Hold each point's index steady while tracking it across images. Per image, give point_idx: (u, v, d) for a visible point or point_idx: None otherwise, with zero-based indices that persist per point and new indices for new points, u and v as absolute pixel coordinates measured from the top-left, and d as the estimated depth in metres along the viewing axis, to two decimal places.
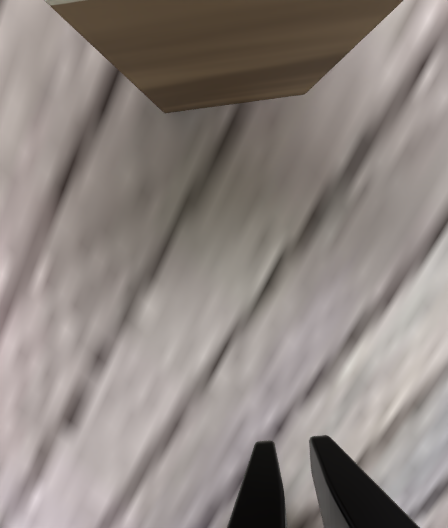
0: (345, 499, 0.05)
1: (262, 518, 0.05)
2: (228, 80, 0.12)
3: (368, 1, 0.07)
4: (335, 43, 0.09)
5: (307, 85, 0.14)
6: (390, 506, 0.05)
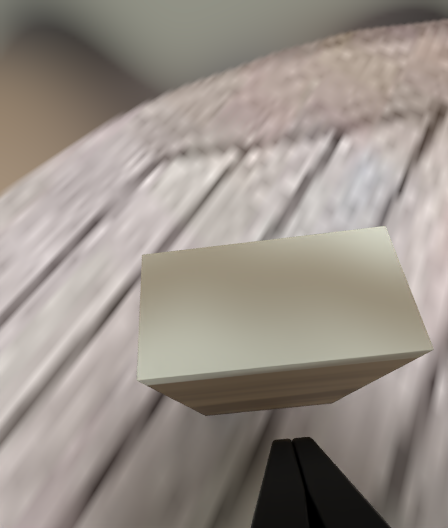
0: (322, 501, 0.05)
1: (286, 515, 0.05)
2: (263, 401, 0.14)
3: (366, 373, 0.10)
4: (348, 385, 0.12)
5: (332, 399, 0.16)
6: (365, 508, 0.05)
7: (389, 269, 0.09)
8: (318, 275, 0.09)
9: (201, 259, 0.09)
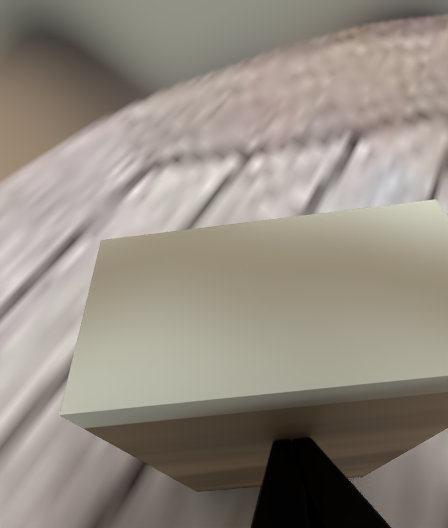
0: (322, 501, 0.05)
1: (286, 516, 0.05)
2: None
3: (427, 418, 0.06)
4: (394, 444, 0.08)
5: (365, 471, 0.12)
6: (365, 508, 0.05)
7: None
8: (348, 259, 0.06)
9: (180, 244, 0.07)
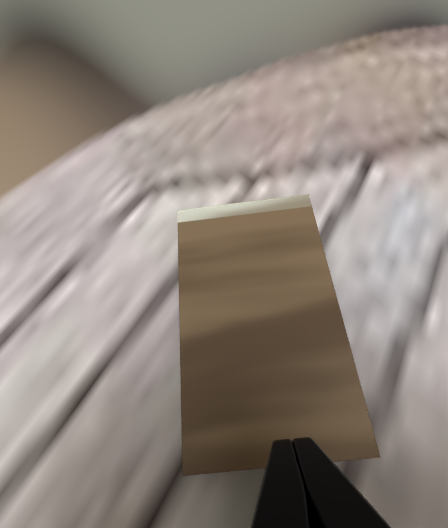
0: (322, 501, 0.05)
1: (286, 516, 0.05)
2: (254, 339, 0.14)
3: (301, 234, 0.16)
4: (314, 279, 0.15)
5: (355, 398, 0.12)
6: (366, 508, 0.05)
7: None
8: None
9: None
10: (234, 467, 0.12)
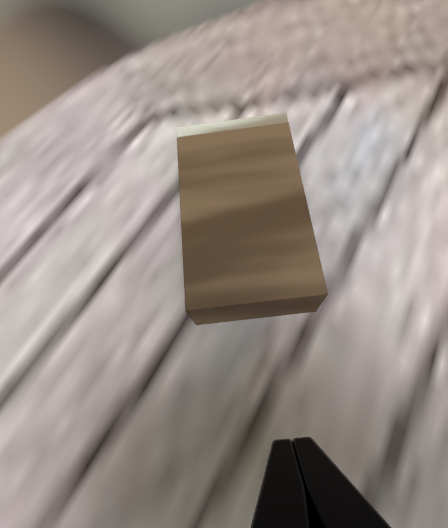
0: (322, 501, 0.05)
1: (286, 516, 0.05)
2: (238, 222, 0.18)
3: (278, 144, 0.20)
4: (287, 178, 0.19)
5: (312, 258, 0.17)
6: (366, 508, 0.05)
7: None
8: None
9: None
10: (223, 304, 0.16)
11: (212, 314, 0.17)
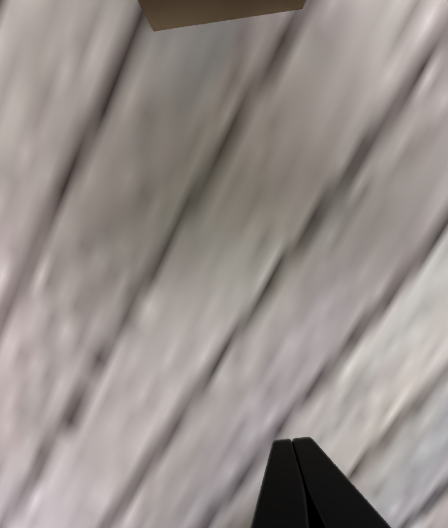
0: (322, 501, 0.05)
1: (286, 516, 0.05)
2: None
3: None
4: None
5: None
6: (366, 508, 0.05)
7: None
8: None
9: None
10: None
11: (171, 7, 0.14)
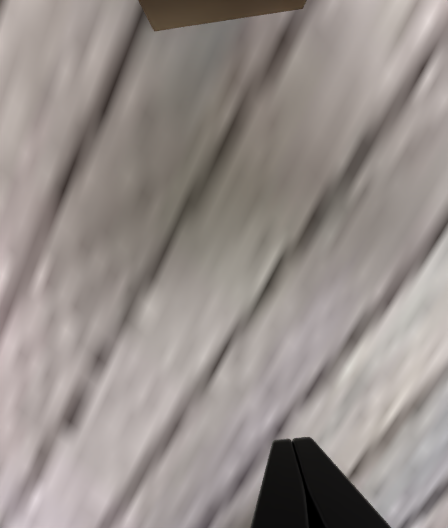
0: (322, 501, 0.05)
1: (286, 516, 0.05)
2: None
3: None
4: None
5: None
6: (366, 508, 0.05)
7: None
8: None
9: None
10: None
11: (172, 7, 0.14)
